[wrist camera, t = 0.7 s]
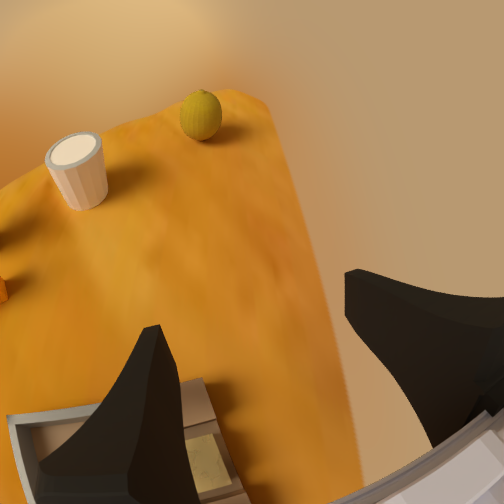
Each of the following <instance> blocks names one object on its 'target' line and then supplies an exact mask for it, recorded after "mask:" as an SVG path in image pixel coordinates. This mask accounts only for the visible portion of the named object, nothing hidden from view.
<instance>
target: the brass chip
mask: <svg viewBox="0 0 504 504" xmlns="http://www.w3.org/2000/svg"><path fill="white" fill-rule="evenodd" d="M185 444H186V449H187V454H188V458H189V462H190V467H191V471H192V474H193V478H194V482H195V486H196V489H197V493H201V492H205V491H208V490H212V489H216V488H220V487H223V486H227V485H230V484H232V482H231V479H230V477H229V475H228V472H227V470H226V467H225V465H224V462H223V460H222V457H221V455H220V452H219V450H218V447H217V444H216V442H215V439H214V437H213V434H212V433H211V434H208V435H204V436H201V437H197V438H193V439H189V440H185Z"/></svg>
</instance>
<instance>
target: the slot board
mask: <svg viewBox="0 0 504 504" xmlns="http://www.w3.org/2000/svg"><path fill="white" fill-rule="evenodd" d="M180 387H181V400H182V413H183V425H184V437H185V440H189V439H193V438H197V437H201V436H204V435H208V434H211V433H212V434H213V437H214V439H215V442H216V444H217V447H218V450H219V452H220V455H221V457H222V460H223V462H224V465H225V467H226V470H227V472H228V475H229V477H230V479H231V482H232V484H230V485H227V486H223V487H220V488H216V489H212V490H208V491H205V492H201V493H198V496H199V499H200V502H201V504H251V502H250V500H249V498H248V495H247V493H246V491H245V490H244V488H243V486H242V483H241V481H240V479H239V476H238V474H237V472H236V469H235V467H234V464H233V462H232V459H231V457H230V454H229V452H228V449H227V447H226V444H225V442H224V439H223V436H222V434H221V431H220V429H219V426H218V423H217V420H216V415H215V413H214V410H213V407H212V404H211V402H210V399H209V396H208V393H207V390H206V387H205V384H204V381H203V378H202V377H201V378H198V379H194V380H190V381H187V382H183V383H180ZM85 422H86V421H84V422H77V423H70V424H62V425H54V426H45V427H34V428H30V429H31V434H32V439H33V443H34V448H35V452H36V456H37V460H38V464H39V462H40V461H41V460H43V459H44V458H45V457H47V456H48V455H49V454H51V453H52V452H53V451H55V450H56V449H57V448H58V447H60V446H61V445H62V444H63V443H64V442H65V441H67V440H68V439H69V438H70V437H71V436H72V435H73V434H74V433H75V432H76V431H77V430H78V429H79V428H80V427H81V426H82V425H83V424H84V423H85Z"/></svg>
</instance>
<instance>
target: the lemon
mask: <svg viewBox="0 0 504 504" xmlns="http://www.w3.org/2000/svg"><path fill="white" fill-rule="evenodd" d="M221 120H222V110H221V105H220V103H219V101H218V99H217V97H216V96H214V95H213V94H212V93H210V92H207V91H204V90H202V89H201V90H199V91H196V92H193V93H191V94H190V95H189V96H187V97H186V98H185V100H184V102H183V104H182V106H181V110H180V124H181V127H182V129H183V131H184V133H185V134H186V135H187V136H189V137H190V138H192V139H195V140H199V141H202V140H205V139H208V138H210V137H212V136H213V135H214V134H215V133H216V132H217V131H218V129H219V127H220V125H221Z"/></svg>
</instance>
